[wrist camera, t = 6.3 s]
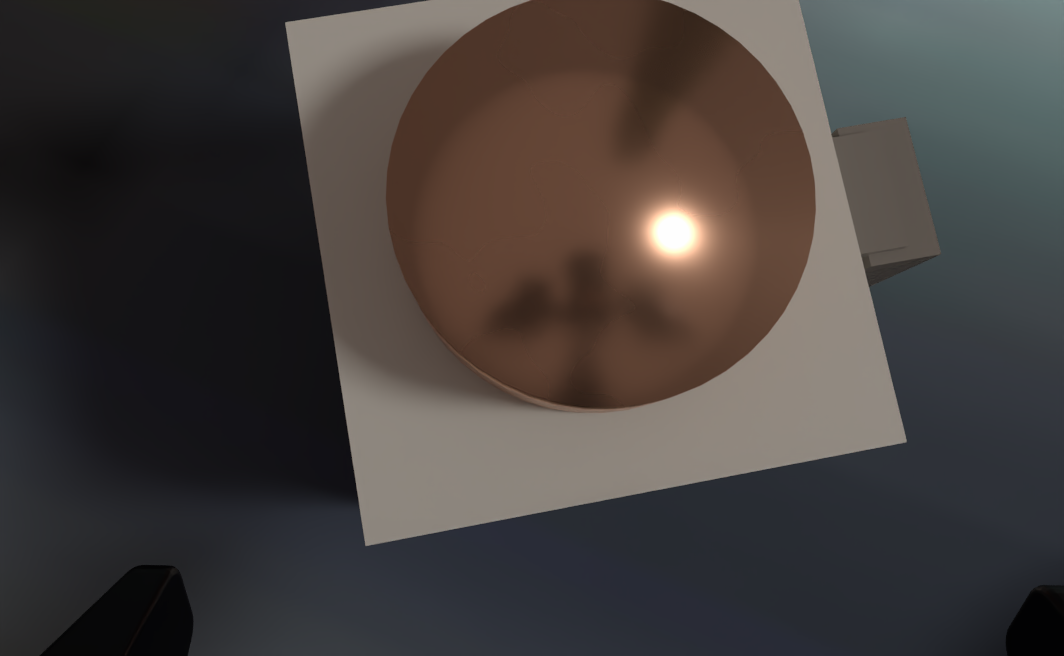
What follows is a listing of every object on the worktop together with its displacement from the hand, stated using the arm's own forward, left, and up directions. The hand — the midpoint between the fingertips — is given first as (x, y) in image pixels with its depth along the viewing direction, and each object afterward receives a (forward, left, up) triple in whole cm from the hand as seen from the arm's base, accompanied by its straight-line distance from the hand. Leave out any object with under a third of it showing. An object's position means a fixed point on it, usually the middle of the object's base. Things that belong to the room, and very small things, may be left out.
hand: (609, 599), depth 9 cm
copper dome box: (+5, -1, -11) cm, 12 cm away
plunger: (+5, -1, -8) cm, 10 cm away
